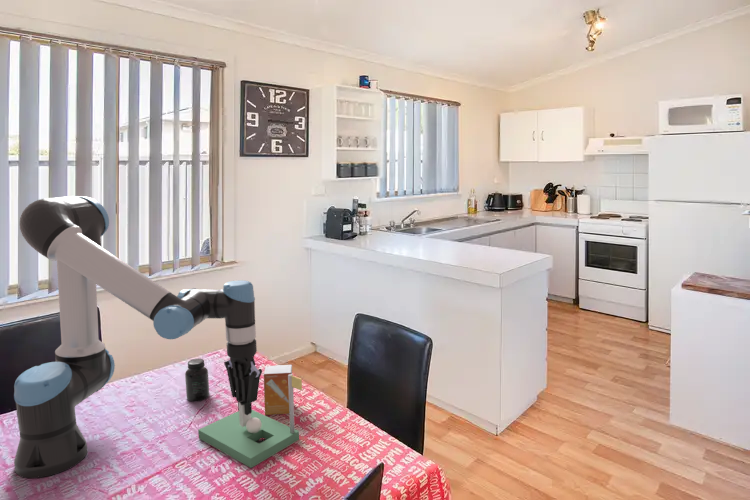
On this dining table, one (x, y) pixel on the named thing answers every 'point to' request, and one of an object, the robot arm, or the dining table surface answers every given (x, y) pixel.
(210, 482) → the dining table surface
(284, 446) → the putting green
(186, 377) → the supplement bottle
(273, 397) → the small box
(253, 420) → the ball
